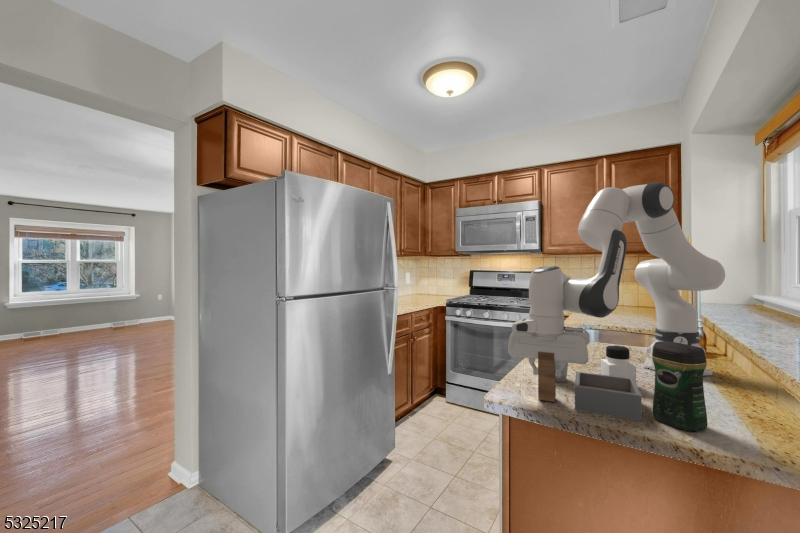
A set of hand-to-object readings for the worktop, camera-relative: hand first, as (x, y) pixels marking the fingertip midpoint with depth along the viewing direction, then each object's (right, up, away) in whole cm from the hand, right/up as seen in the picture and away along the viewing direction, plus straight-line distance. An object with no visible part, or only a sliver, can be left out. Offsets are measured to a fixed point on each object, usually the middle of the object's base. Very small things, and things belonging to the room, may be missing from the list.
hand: (546, 375), depth 95 cm
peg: (0, -6, 0) cm, 6 cm away
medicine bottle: (+26, -7, +11) cm, 29 cm away
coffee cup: (+10, -7, +17) cm, 21 cm away
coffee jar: (+24, -7, -15) cm, 29 cm away
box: (+14, -6, -4) cm, 16 cm away
